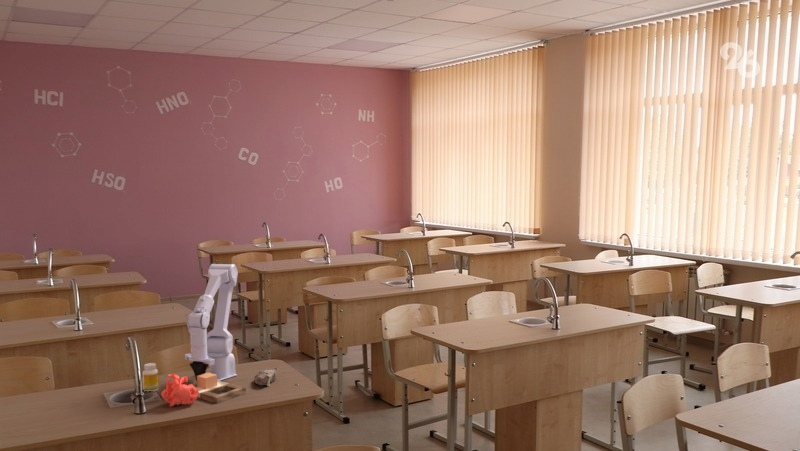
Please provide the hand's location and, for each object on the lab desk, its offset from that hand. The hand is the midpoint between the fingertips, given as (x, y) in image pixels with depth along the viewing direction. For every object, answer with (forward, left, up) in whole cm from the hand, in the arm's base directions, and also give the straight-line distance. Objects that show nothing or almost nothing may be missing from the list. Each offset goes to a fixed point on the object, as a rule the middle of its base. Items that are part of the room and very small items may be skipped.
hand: (200, 381), depth 249 cm
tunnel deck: (0, +3, -3) cm, 4 cm away
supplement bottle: (+10, -15, -3) cm, 18 cm away
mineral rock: (-20, +13, -3) cm, 24 cm away
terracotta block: (0, +4, -1) cm, 4 cm away
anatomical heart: (+14, +8, -3) cm, 16 cm away
